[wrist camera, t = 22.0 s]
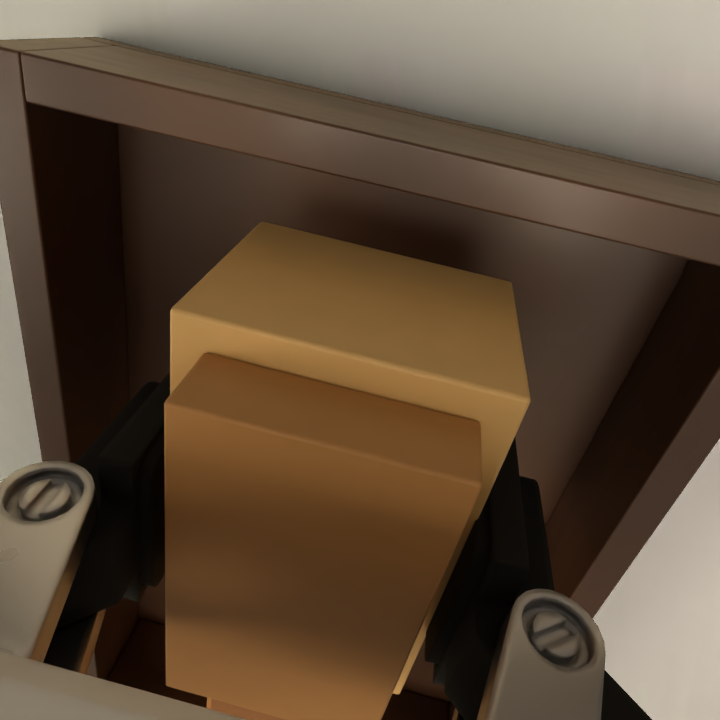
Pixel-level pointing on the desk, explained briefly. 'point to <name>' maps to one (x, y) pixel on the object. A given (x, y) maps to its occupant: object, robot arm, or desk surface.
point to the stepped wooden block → (326, 466)
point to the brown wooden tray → (371, 229)
